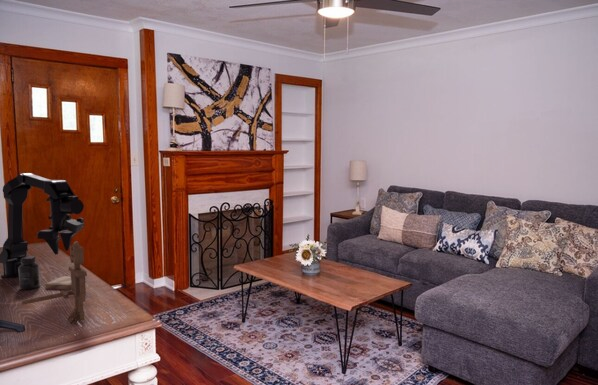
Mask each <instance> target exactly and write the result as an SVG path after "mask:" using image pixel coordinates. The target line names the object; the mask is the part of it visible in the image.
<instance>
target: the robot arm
mask: <svg viewBox="0 0 598 385" xmlns="http://www.w3.org/2000/svg"><path fill="white" fill-rule="evenodd" d="M32 187H34V188H37V189H40V190H42V191H43V193H45V195H48V197H47V198H46V202H49V204H50V205H49V206H50V215H49V216H48V220H50V222H51V226H49V227H48V229H42V230H39V231H38V232H36V234H37V235H36V238H37V239H38V240H41V239H42V240H44V242H46V243H47V245H48V246H49V248H50V249H51V250H52V252H53V254H54V255H59V248H60V247H59V241H60V240H61V241H62V244H63V247H64V250H65V251H67V252H68V251H70V246H71V244H72V240H73V237H74V236H75V235H76V234H78V232H81V231H82V230H83V227H85V226H86V225H85V219H84V218H82V217H78V218H77V219H74V218H72V216H71V215H79V214H81V213H82V212H83V210H84V208H85V207H84V203H83V201H82V199H79V196H78V195H75V192H74V190H73V189H72V188H71V186H70V184H69V183H68V181H67V180H64V179H49V178H45V177H44V176H43V177H42V176H40V175H37V174H34V173H31V172H26V173H25V172H22V173H20V174H19V173H18V174H17V175H16V177H14V178H12V179H10V180H9V181H8V182H6V183H5V184H4V185H3V186H2V193H3V199H4V200H5V201H6V203H7V204H8V206H7V208H8V209H7V213H8V214H7V238H6V240H5V241H4V243H3V244H2V250H1V252H0V264H2V265H3V266H2V267H3V268H2V269H3V274H2V275H0V277H1V278H16V277H19V271H18V267H19V266H20V265H21V264H22V263H21V258H22V257H26V256H28V255H27V254H28V250H29V249H28V244H29V242H28V241H25V239H24V238H23V214H24V212H23V207H24V206H23V205H24V202H25V201H26V200H27V198H28V195H29V191H30V190H31V189H32Z"/></svg>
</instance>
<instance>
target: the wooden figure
mask: <svg viewBox="0 0 598 385" xmlns="http://www.w3.org/2000/svg"><path fill="white" fill-rule="evenodd" d="M69 256H70V258H69V259H70V263H71V264H73V265H69V266H68V271H69V272H70V277H71V286H72V289H71V290H68V291H66V289H60V290H59V293H58V292H57V293H52V294H48V295H43V296H38V297H31V298H26V299H23V300H21V305H22V306H24V305H28V304H33V303H39V302H44V301H49V300H53V299H58V298H59V299H60V298H63V299H64V300H66V299H69V296H74V309H73V310H72V311H71V313H70V314H69V315H68V316H67V317H66V319H67V320H69V323H70V324H74V323H77V324H78V325H79V327H81V328H82V327H83V326H82V325H83V324H81V322H82V321H85V311H84V303H85V302H86V294H87V292H86V281H85V280H86V277H87V276H88V274H87V271H86V270H85V269H84V268H83V267H82V266H81V265H83V264H84V263H85V257H84V247H83V246H81V245H80V244H79V241H77V240H76V241H74V242H73V243H72V245H70V247H69Z"/></svg>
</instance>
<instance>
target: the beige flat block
mask: <svg viewBox="0 0 598 385" xmlns="http://www.w3.org/2000/svg"><path fill="white" fill-rule="evenodd" d="M44 286H45V289H47V290H67V289H68V291H71V290H72V286H71V275H70V276H68V275H67V276H66V275H65V276H64V275H62V276H60V277H58V278H56V279H53V280H51V281H49V282H46V283H45V285H44Z"/></svg>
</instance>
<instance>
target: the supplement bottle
mask: <svg viewBox="0 0 598 385" xmlns="http://www.w3.org/2000/svg"><path fill="white" fill-rule="evenodd" d="M36 261H37V259H36V256H35V255H29V256H28V255H26V257H22V258H21V263H22V264H21V265H20V266H19V267H18V271H19V276H18V282H19V285H18V286H19V289H20V290H22V291H30V290H35V289H38V288H40V286H41V281H40V280H41V278H40V265H39V264H38V263H37V262H36Z"/></svg>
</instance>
